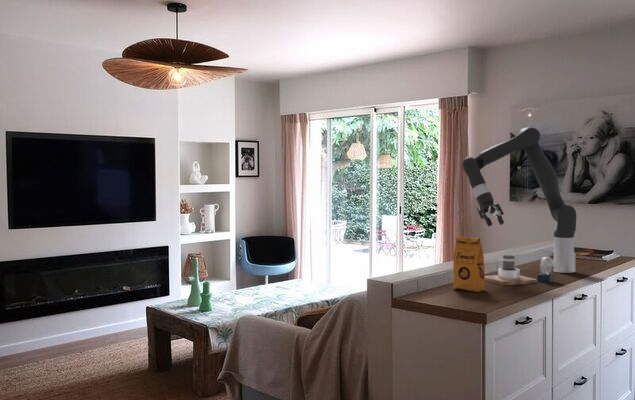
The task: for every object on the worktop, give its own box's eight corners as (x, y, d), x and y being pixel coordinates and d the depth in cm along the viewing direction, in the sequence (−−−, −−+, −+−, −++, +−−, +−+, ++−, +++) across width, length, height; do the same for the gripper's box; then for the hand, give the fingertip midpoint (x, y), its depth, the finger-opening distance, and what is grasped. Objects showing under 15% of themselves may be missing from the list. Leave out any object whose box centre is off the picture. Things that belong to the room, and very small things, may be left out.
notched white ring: (511, 275, 264) (511, 267, 264) (523, 279, 255) (523, 270, 255) (494, 276, 261) (494, 268, 261) (506, 280, 253) (506, 271, 252)
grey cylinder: (509, 276, 262) (509, 254, 261) (516, 278, 257) (517, 256, 256) (500, 277, 260) (500, 255, 259) (507, 279, 255) (507, 256, 255)
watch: (555, 280, 259) (555, 256, 258) (548, 283, 253) (548, 258, 253) (542, 279, 263) (543, 255, 262) (535, 281, 257) (535, 257, 256)
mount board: (514, 277, 269) (514, 274, 269) (537, 283, 253) (537, 279, 253) (481, 279, 263) (481, 276, 263) (502, 285, 248) (502, 282, 248)
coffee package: (476, 293, 230) (476, 239, 230) (449, 289, 239) (449, 237, 239) (489, 290, 237) (489, 237, 237) (462, 286, 246) (462, 235, 246)
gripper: (478, 192, 274) (492, 223, 269) (498, 190, 282) (511, 220, 276) (467, 199, 280) (481, 229, 274) (487, 197, 288) (500, 226, 282)
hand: (496, 224), depth 275 cm, fingers open, 8 cm apart
